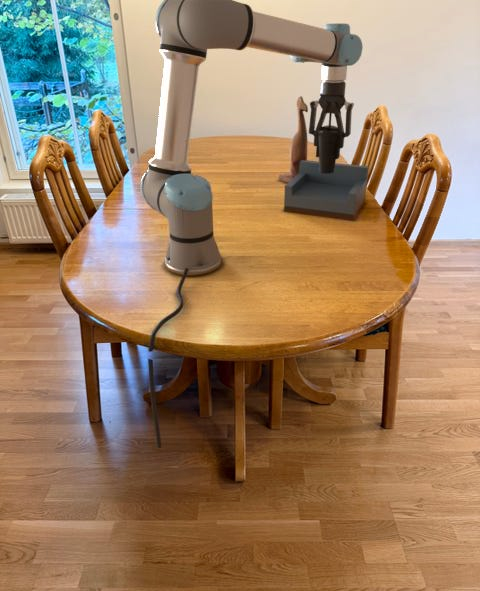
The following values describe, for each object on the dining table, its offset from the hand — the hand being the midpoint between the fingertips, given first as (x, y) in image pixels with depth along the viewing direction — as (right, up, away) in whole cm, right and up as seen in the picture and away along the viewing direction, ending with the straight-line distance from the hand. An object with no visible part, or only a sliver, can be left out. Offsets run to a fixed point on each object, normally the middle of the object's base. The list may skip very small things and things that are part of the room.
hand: (327, 157), depth 161 cm
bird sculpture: (-6, 0, +37) cm, 37 cm away
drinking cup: (0, -4, +3) cm, 5 cm away
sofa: (+1, -14, +11) cm, 18 cm away
